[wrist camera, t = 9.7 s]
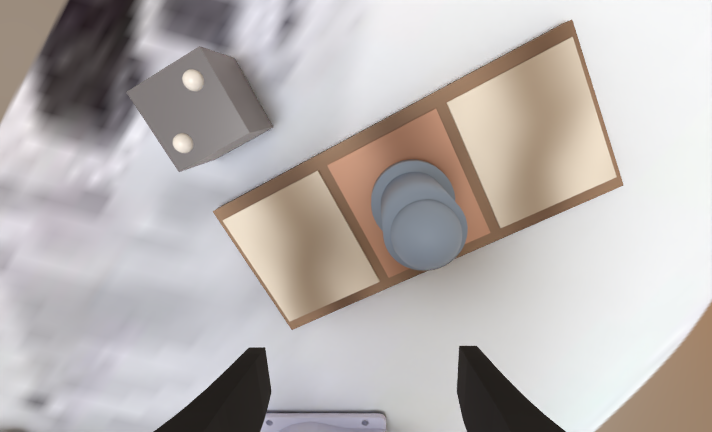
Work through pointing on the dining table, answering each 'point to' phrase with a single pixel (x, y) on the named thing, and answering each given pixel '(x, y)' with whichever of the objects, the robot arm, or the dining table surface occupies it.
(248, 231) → the game board
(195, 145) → the die
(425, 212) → the pawn
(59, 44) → the dining table surface
